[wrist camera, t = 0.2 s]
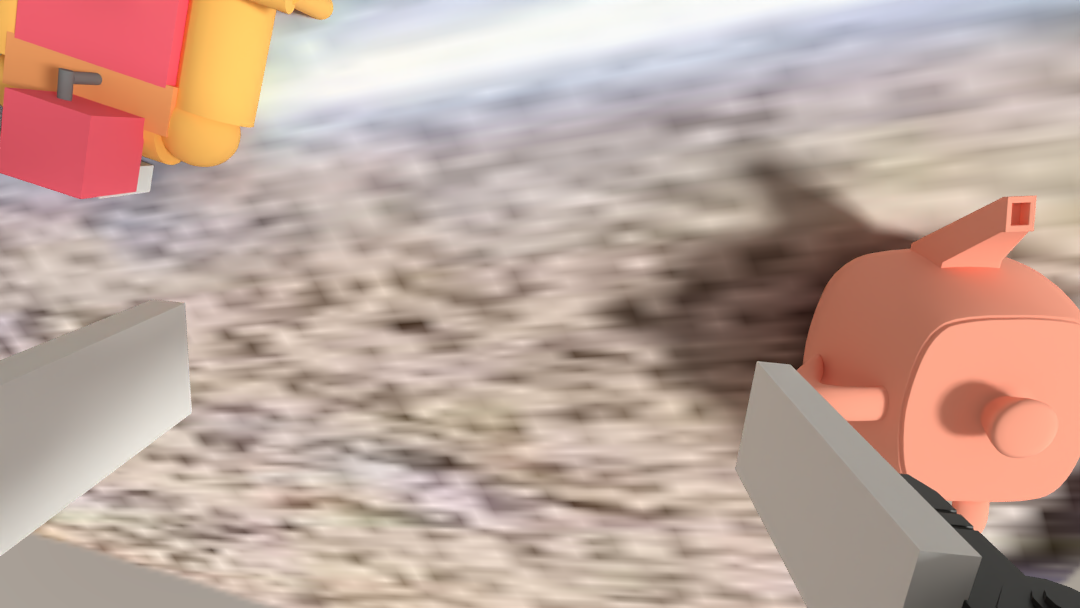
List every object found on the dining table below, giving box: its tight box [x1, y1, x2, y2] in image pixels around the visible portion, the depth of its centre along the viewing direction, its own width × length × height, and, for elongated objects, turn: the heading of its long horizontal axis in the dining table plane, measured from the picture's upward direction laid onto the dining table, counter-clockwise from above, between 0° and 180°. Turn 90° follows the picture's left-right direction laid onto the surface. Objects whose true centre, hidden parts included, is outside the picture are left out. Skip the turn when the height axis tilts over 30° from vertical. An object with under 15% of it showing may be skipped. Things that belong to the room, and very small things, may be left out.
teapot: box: [796, 196, 1080, 533], centre depth 36 cm, size 16×17×14 cm
